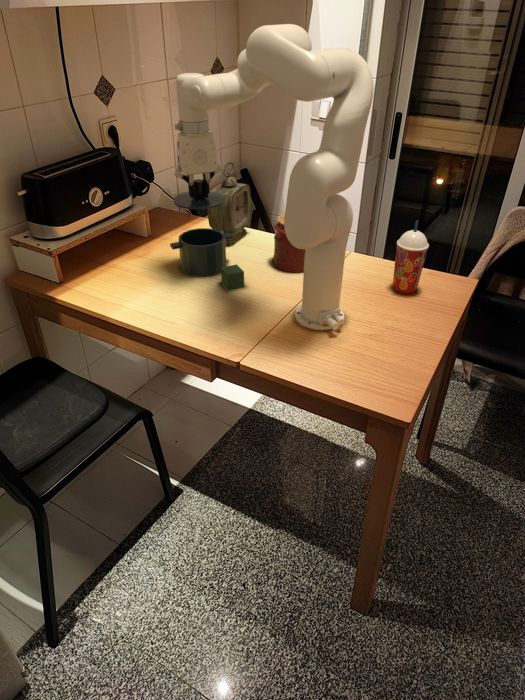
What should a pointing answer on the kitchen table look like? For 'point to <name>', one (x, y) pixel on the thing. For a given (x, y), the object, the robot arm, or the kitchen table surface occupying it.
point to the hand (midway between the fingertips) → (199, 196)
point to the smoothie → (409, 260)
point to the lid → (199, 198)
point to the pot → (202, 251)
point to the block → (232, 277)
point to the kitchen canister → (286, 250)
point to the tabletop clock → (231, 206)
